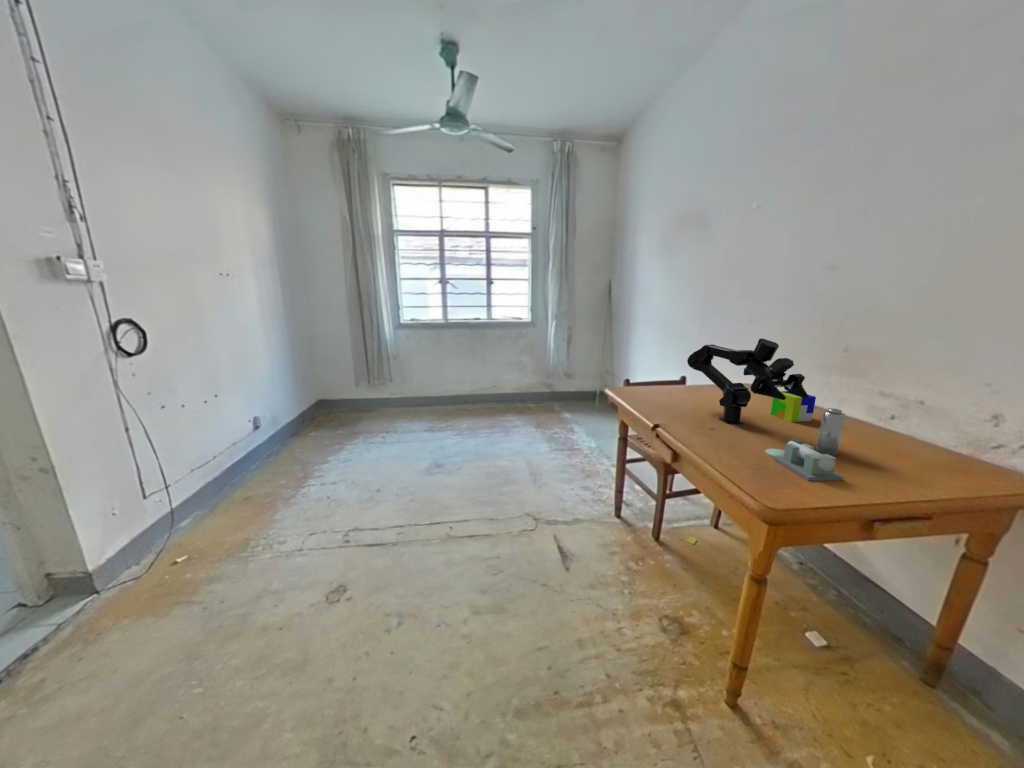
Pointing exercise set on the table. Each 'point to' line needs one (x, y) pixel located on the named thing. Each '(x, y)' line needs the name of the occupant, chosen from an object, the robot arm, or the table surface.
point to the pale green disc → (775, 452)
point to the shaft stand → (808, 462)
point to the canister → (830, 431)
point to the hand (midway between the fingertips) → (796, 398)
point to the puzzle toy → (793, 407)
